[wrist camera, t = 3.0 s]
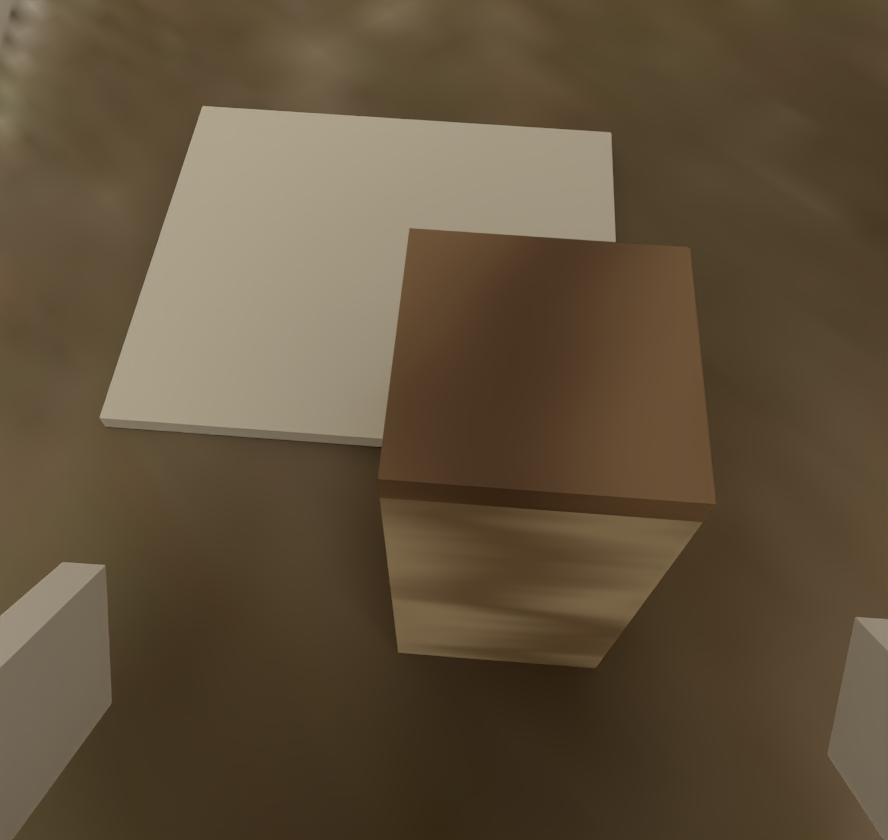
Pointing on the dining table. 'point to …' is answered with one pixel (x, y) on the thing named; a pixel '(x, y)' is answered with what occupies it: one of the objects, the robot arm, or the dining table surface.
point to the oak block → (539, 442)
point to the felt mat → (324, 261)
